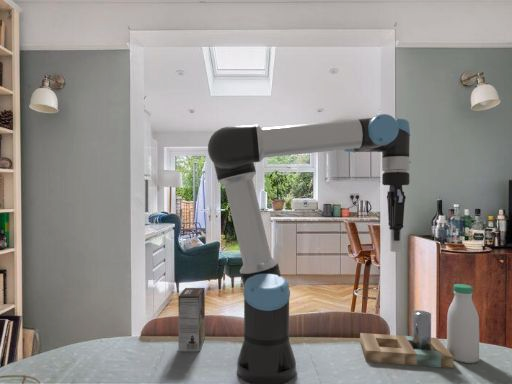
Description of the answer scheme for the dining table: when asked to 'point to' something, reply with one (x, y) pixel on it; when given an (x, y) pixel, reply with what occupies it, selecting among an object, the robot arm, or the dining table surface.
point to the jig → (403, 351)
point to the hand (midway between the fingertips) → (395, 251)
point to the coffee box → (191, 319)
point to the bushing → (421, 330)
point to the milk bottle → (463, 326)
